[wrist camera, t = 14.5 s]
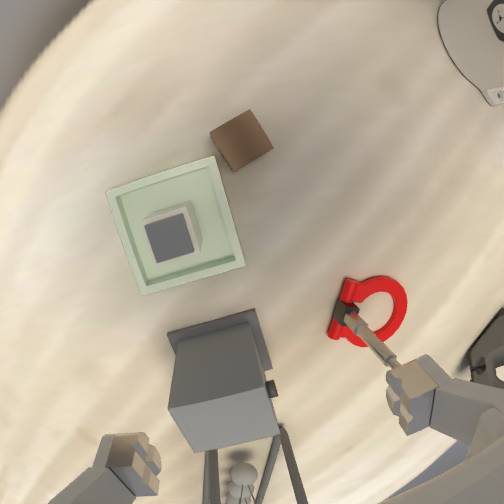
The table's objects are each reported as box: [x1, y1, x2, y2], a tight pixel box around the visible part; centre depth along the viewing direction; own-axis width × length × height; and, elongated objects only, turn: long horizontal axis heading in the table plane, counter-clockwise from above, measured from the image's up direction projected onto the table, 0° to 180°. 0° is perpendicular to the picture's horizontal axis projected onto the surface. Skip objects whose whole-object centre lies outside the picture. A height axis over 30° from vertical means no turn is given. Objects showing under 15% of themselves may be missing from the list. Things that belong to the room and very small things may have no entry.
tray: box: [106, 155, 246, 296], centre depth 31 cm, size 11×11×2 cm
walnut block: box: [210, 110, 274, 171], centre depth 29 cm, size 4×4×4 cm
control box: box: [167, 309, 280, 453], centre depth 30 cm, size 10×8×12 cm
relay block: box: [140, 200, 203, 266], centre depth 28 cm, size 4×4×6 cm
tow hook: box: [327, 276, 407, 369], centre depth 30 cm, size 9×14×10 cm
